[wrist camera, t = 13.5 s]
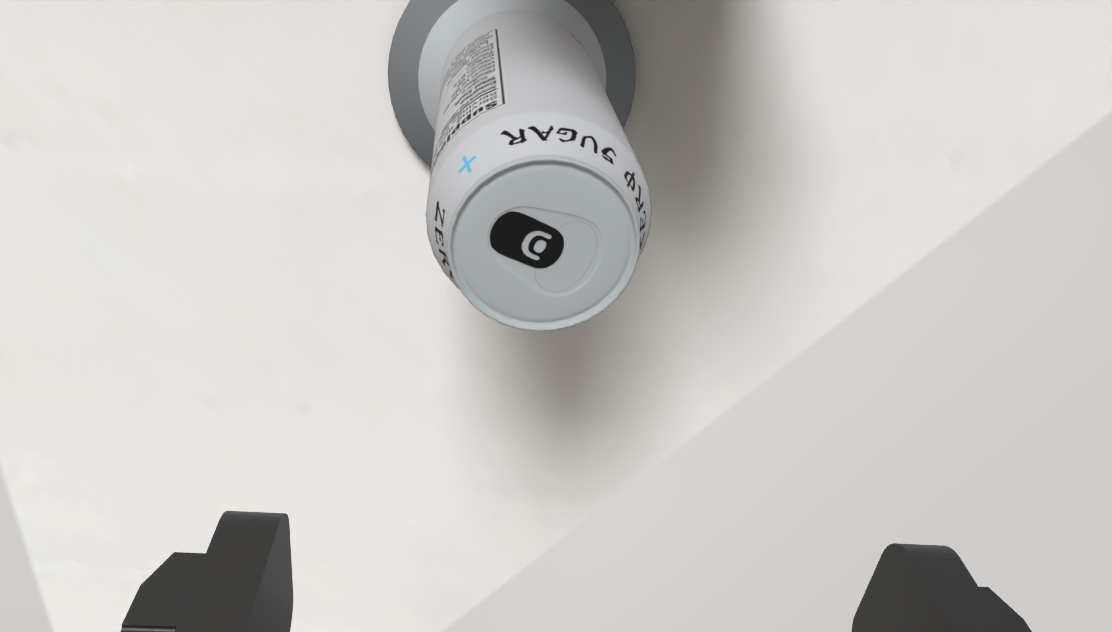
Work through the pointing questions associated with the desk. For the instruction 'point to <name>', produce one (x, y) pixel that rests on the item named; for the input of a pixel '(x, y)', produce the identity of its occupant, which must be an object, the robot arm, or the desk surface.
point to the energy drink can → (532, 177)
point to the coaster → (455, 4)
